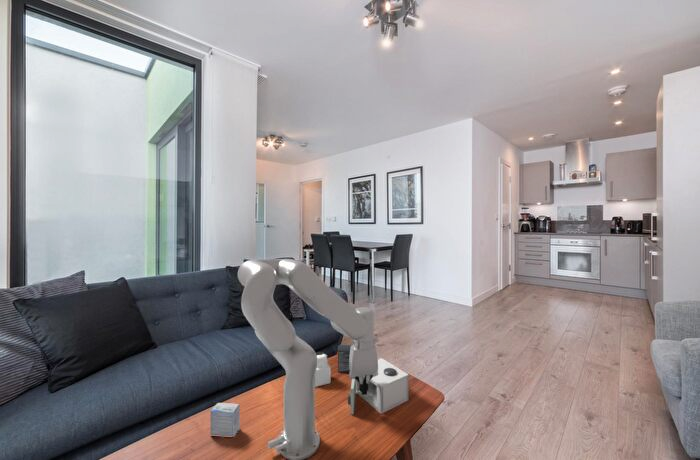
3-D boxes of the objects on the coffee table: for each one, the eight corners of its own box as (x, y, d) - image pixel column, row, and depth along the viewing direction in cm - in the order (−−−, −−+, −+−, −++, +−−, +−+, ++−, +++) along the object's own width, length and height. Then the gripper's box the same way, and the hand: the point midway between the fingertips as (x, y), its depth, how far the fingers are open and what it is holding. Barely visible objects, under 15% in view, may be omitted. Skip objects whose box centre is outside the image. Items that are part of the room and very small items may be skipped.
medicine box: (240, 429, 93) (240, 403, 93) (233, 439, 89) (233, 412, 89) (218, 427, 94) (217, 402, 94) (210, 437, 90) (209, 410, 89)
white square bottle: (309, 378, 123) (309, 351, 123) (325, 375, 126) (325, 348, 126) (314, 387, 117) (314, 359, 116) (330, 383, 120) (330, 355, 119)
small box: (360, 365, 135) (360, 344, 134) (360, 372, 128) (360, 350, 128) (338, 365, 135) (338, 344, 134) (337, 372, 128) (337, 350, 128)
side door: (347, 413, 100) (347, 388, 100) (351, 391, 113) (351, 369, 113) (353, 414, 100) (353, 388, 100) (356, 392, 113) (356, 369, 112)
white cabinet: (381, 413, 101) (381, 384, 100) (355, 391, 114) (355, 366, 113) (408, 399, 108) (408, 372, 108) (381, 380, 122) (381, 356, 121)
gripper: (380, 336, 106) (380, 384, 106) (341, 340, 103) (341, 389, 103) (386, 345, 99) (386, 396, 99) (345, 349, 96) (345, 401, 96)
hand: (363, 392), depth 101 cm, fingers closed
